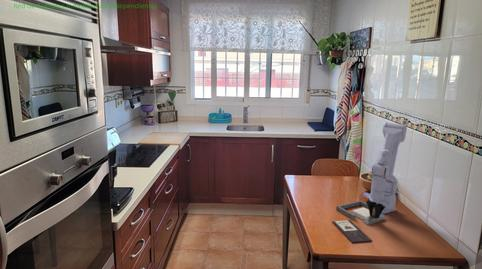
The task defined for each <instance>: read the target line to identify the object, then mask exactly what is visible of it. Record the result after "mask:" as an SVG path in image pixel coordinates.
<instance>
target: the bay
mask: <svg viewBox="0 0 482 269" xmlns="http://www.w3.org/2000/svg"><path fill="white" fill-rule="evenodd" d="M357 206H358V207H359V206H361V207H362V208H363V207H364V208H366V209H368V210H369V208H368V205H367V203H366V201H365V202H364V201H362V200H358V201H353V202H349V203H344V204H340V205H336V206H335V207H336V208H335V210H336V211H338V212H339V213H341V214H343V215H344V216H347V217H348V218H350V219H352V220H354V221H355V220H356V216H355V215H354V214H352V212H350V211H348V210H346V209H349V208H354V207H357Z"/></svg>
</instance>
